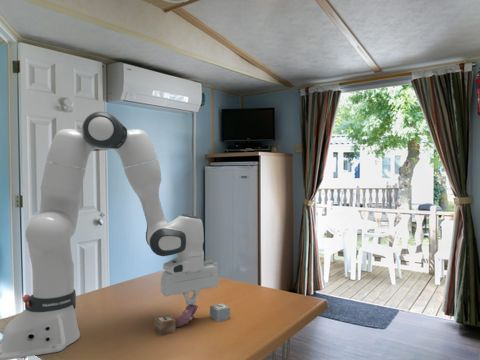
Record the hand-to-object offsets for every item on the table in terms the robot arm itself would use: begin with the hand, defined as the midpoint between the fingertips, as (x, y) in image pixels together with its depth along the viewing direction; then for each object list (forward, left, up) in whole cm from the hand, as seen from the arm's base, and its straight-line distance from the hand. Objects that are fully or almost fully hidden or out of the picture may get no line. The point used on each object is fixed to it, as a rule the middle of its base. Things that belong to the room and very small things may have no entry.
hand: (190, 304), depth 124 cm
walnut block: (-10, -2, -6) cm, 12 cm away
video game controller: (-1, +1, -6) cm, 7 cm away
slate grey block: (+10, -2, -6) cm, 12 cm away
